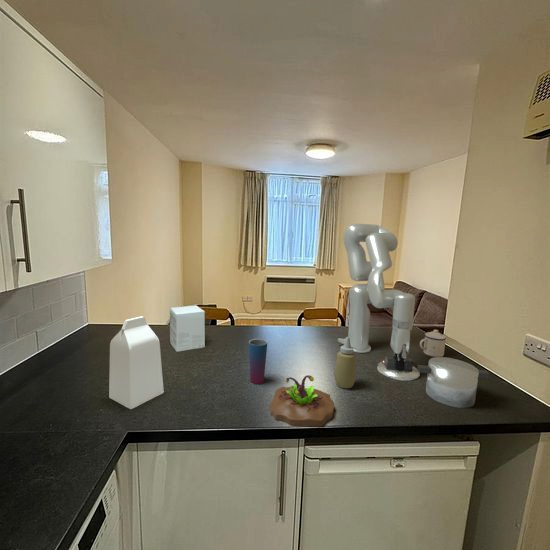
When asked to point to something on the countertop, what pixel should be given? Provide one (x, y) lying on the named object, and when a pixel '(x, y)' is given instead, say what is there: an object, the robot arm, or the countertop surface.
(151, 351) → the milk
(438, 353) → the teacup with lid
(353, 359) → the squeeze bottle
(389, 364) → the lid
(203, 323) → the supplement box
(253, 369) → the cup
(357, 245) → the robot arm
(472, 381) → the pot
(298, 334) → the countertop surface
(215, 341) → the countertop surface
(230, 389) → the countertop surface
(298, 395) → the plant
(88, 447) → the countertop surface
